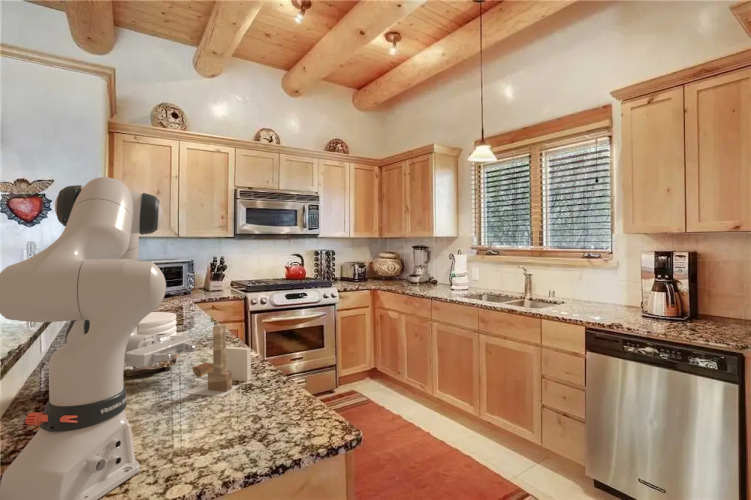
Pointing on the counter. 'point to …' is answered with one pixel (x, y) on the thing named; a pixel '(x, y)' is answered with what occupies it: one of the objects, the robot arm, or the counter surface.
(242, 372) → the slab tile
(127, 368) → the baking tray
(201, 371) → the shard
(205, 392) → the rest mat
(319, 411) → the counter surface
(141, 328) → the plate stack
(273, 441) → the counter surface
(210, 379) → the stacked wooden blocks
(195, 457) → the counter surface
